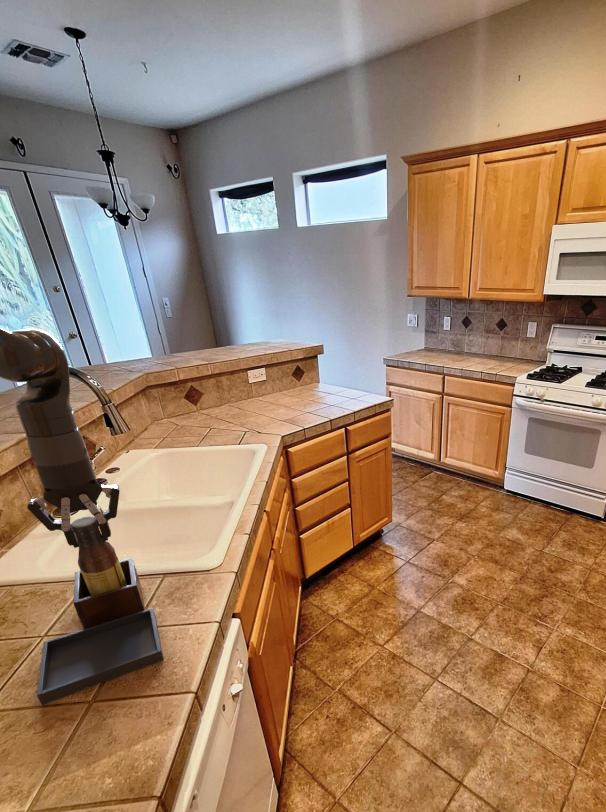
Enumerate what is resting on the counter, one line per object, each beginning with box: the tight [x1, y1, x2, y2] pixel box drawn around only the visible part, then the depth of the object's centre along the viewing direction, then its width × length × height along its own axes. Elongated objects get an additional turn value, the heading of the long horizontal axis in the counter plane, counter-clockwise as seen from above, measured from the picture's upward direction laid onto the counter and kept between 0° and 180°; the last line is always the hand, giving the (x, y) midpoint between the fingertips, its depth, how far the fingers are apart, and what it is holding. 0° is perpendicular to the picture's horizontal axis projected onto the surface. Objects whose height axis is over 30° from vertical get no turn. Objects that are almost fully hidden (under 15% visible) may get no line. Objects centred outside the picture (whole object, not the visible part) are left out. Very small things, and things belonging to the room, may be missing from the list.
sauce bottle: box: [71, 515, 127, 596], centre depth 83 cm, size 7×6×20 cm
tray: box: [36, 607, 165, 705], centre depth 75 cm, size 17×13×2 cm
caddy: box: [72, 557, 146, 630], centre depth 86 cm, size 10×11×7 cm
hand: (91, 541), depth 80 cm, fingers closed on sauce bottle, 4 cm apart
